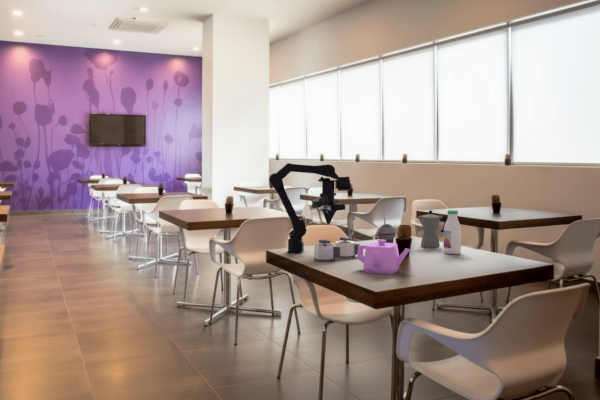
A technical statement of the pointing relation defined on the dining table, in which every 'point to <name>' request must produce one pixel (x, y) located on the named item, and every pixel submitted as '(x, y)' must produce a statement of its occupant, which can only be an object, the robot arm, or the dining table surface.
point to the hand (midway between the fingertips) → (328, 224)
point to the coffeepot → (431, 229)
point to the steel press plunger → (324, 241)
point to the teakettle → (381, 257)
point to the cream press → (347, 248)
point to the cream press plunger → (345, 239)
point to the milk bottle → (452, 234)
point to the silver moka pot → (326, 252)
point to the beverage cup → (386, 232)
